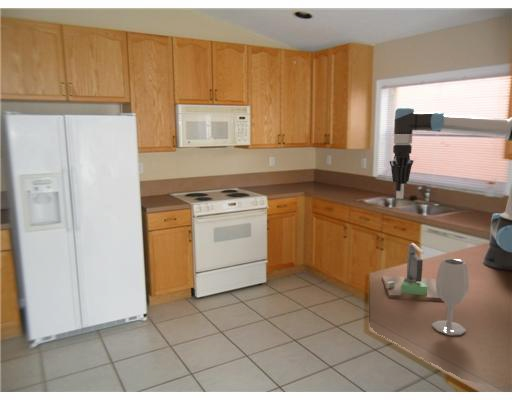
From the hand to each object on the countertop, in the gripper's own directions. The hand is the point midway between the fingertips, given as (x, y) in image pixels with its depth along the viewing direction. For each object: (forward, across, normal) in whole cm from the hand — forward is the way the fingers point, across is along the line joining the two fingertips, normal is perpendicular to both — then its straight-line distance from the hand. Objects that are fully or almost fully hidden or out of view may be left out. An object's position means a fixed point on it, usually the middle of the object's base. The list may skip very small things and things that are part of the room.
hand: (399, 198), depth 181 cm
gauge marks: (+28, +27, +28) cm, 48 cm away
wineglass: (+30, +39, +52) cm, 72 cm away
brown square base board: (+29, +22, +26) cm, 45 cm away
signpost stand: (+28, +21, +26) cm, 44 cm away
